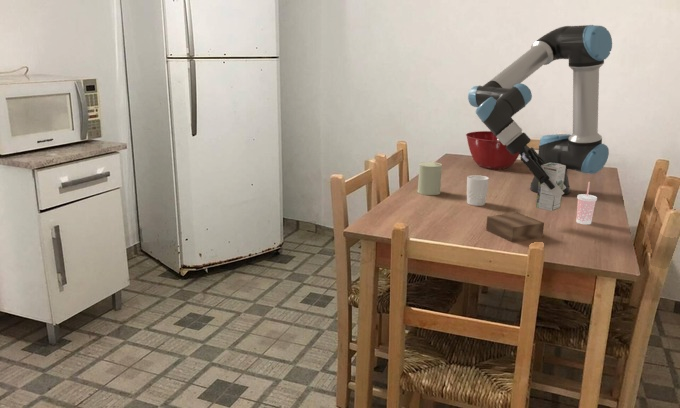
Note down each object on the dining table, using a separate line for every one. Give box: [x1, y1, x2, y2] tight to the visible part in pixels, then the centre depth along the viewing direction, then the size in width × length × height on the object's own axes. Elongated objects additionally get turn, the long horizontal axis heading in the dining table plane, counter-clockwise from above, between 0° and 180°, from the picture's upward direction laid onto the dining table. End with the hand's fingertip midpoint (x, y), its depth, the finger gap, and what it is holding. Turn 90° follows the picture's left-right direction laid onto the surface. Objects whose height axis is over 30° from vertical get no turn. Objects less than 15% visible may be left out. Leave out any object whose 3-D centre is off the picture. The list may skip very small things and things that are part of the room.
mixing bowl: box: [465, 130, 520, 170], centre depth 271 cm, size 28×28×16 cm
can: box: [417, 161, 443, 196], centre depth 221 cm, size 9×9×12 cm
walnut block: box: [485, 211, 545, 243], centre depth 173 cm, size 12×12×5 cm
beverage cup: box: [575, 181, 598, 225], centre depth 184 cm, size 6×6×14 cm
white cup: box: [466, 174, 490, 207], centre depth 206 cm, size 8×8×10 cm
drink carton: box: [535, 163, 566, 212], centre depth 179 cm, size 6×6×14 cm
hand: (561, 192), depth 178 cm, fingers closed on drink carton, 7 cm apart
